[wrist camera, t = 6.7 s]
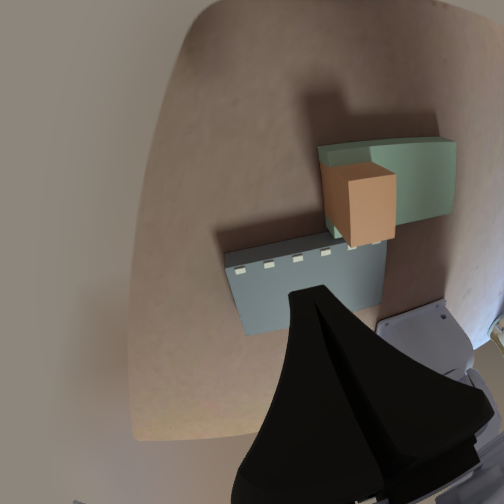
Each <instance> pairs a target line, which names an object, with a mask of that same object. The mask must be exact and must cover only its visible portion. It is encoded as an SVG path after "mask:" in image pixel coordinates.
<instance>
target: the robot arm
mask: <svg viewBox="0 0 504 504" xmlns="http://www.w3.org/2000/svg"><path fill="white" fill-rule="evenodd" d="M288 300H289V307H290V326H289V336H288V343H287V348H286V354H285V359H284V364H283V368H282V372H281V375H280V379H279V382H278V385H277V388H276V391H275V394H274V397H273V400H272V403H271V405H270V408H269V410H268V413H267V415H266V417H265V419H264V422H263V424H262V426H261V428H260V430H259V432H258V435H257V437H256V439H255V440H254V442H253V444H252V446H251V448H250V450H249V451H248V453H247V455H246V456H245V458H244V460H243V461H242V463H241V465H240V467H239V468H238V471H237V475H236V478H235V481H234V484H233V489H232V494H231V504H355V501H358V503H361V502H364V501H368V500H370V499H373V498H376V500H377V502H376V503H373V504H416V503H418V502H420V501H422V500H424V499H426V498H428V497H430V496H432V495H434V494H436V493H437V492H439V491H441V490H443V489H445V488H446V487H448V486H451V488H450V489H448V490H447V491H445V492H444V493H442V494H441V495H439V496H437V497H436V499H435V501H436V504H504V431H503V432H501V433H500V434H499V432H500V430H501V427H502V424H501V422H502V417H501V415H500V413H499V411H498V409H497V404H496V402H495V399H494V397H493V395H492V393H491V391H490V389H489V388H488V386H487V384H486V382H485V381H484V379H483V377H482V376H481V375H480V373H479V372H478V371H477V369H472V367H473V363H474V351H473V347H472V344H471V341H470V339H469V338H468V336H467V335H466V333H465V332H464V331H463V329H462V328H461V326H460V325H459V324H458V322H457V321H456V320H455V318H454V317H453V316H452V314H451V313H450V312H449V311H448V309H447V308H446V307H445V305H446V300H445V299H441V300H438V301H436V302H433V303H430V304H428V305H425V306H422V307H420V308H417V309H414V310H411V311H408V312H406V313H403V314H400V315H397V316H394V317H391V318H388V319H385V320H382V321H380V322H379V323H378V324H377V330H376V333H375V332H374V331H372V330H371V329H370V328H369V327H368V326H366V325H365V324H364V323H363V322H362V321H361V320H360V319H359V318H357V317H356V316H355V315H354V314H353V313H352V312H351V311H350V310H349V309H348V308H347V307H346V306H345V305H344V304H343V303H342V302H341V301H340V300H339V299H338V298H337V297H336V296H335V295H334V294H333V293H332V292H331V291H330V290H329V289H328V288H327V287H326V286H325V285H324V284H322V285H318V286H314V287H309V288H305V289H300V290H296V291H291V292H290V293H289V294H288ZM467 375H468V377H469V379H470V380H469V379H468V377H467ZM470 381H471V382H470ZM471 383H472V384H471ZM498 434H499V435H498ZM73 504H84V503H81V502H79V501H76V500H74V501H73Z"/></svg>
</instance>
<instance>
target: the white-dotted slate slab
mask: <svg viewBox="0 0 504 504" xmlns="http://www.w3.org/2000/svg"><path fill="white" fill-rule="evenodd" d="M386 252H387V240H383V241H379V242H375V243H370V244H366V245H362V246H357V247H353V248H351V247H350V246H349V245H348V243H347V242H346V241H345V239H344V238H343V237H340V238H336V239H335V238H334V237H333V235H332V234H331V233H330V231H329V232H324V233H320V234H315V235H310V236H305V237H301V238H296V239H291V240H286V241H282V242H277V243H272V244H267V245H263V246H258V247H253V248H248V249H244V250H239V251H234V252H230V253H225V271H226V274H227V277H228V281H229V284H230V287H231V290H232V293H233V296H234V300H235V303H236V306H237V309H238V312H239V315H240V318H241V321H242V324H243V328H244V331H245V334H246V336H249V335H254V334H259V333H264V332H269V331H274V330H279V329H284V328H288V327H289V326H290V307H289V300H288V294H289V293H290V292H291V291H296V290H300V289H305V288H309V287H314V286H318V285H322V284H324V285H325V286H326V287H327V288H328V289H329V290H330V291H331V292H332V293H333V294H334V295H335V296H336V297H337V298H338V299H339V300H340V301H341V302H342V303H343V304H344V305H345V306H346V307H347V308H348V309H349V310H350V311H351V312H354V311H357V310H361V309H364V308H368V307H371V306H375V305H378V304H381V299H382V292H383V284H384V274H385V264H386Z"/></svg>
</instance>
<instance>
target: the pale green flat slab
mask: <svg viewBox="0 0 504 504" xmlns="http://www.w3.org/2000/svg"><path fill="white" fill-rule="evenodd" d="M317 148H318V155H319V163H320V171H321V179H322V189H323V198H324V209H325V220H326V227H327V228H328V230H329V231H330V233H331V234H332V235H333V237H334V238H335V239H336V238H340V237H343V238H344V239H345V241H346V242H347V243H348V245H349V246H350V247H351V248H353V247H357V246H362V245H366V244H370V243H375V242H379V241H383V240H387V239H392V238H395V226H396V225H400V224H405V223H409V222H414V221H419V220H423V219H428V218H432V217H437V216H441V215H446V214H450V213H452V209H453V200H454V189H455V174H456V141H453V140H450V139H446V138H443V137H411V138H394V139H380V140H369V141H358V142H349V143H341V144H333V145H325V146H318V147H317Z"/></svg>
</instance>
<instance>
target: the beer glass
mask: <svg viewBox="0 0 504 504" xmlns="http://www.w3.org/2000/svg"><path fill="white" fill-rule="evenodd" d="M487 335H488V337H489V338H490V339H491V340H493V341H494V342H495V343H496V344H497V346H498V347H499V349H500V350H501V352H502V355H503V357H504V312H503V313H502V314H501V315H500V316H499V317H498V318H497V319H496V320H495V321H494V322H493V324H492V325H491V327H490V328H489V331H488V334H487Z"/></svg>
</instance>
